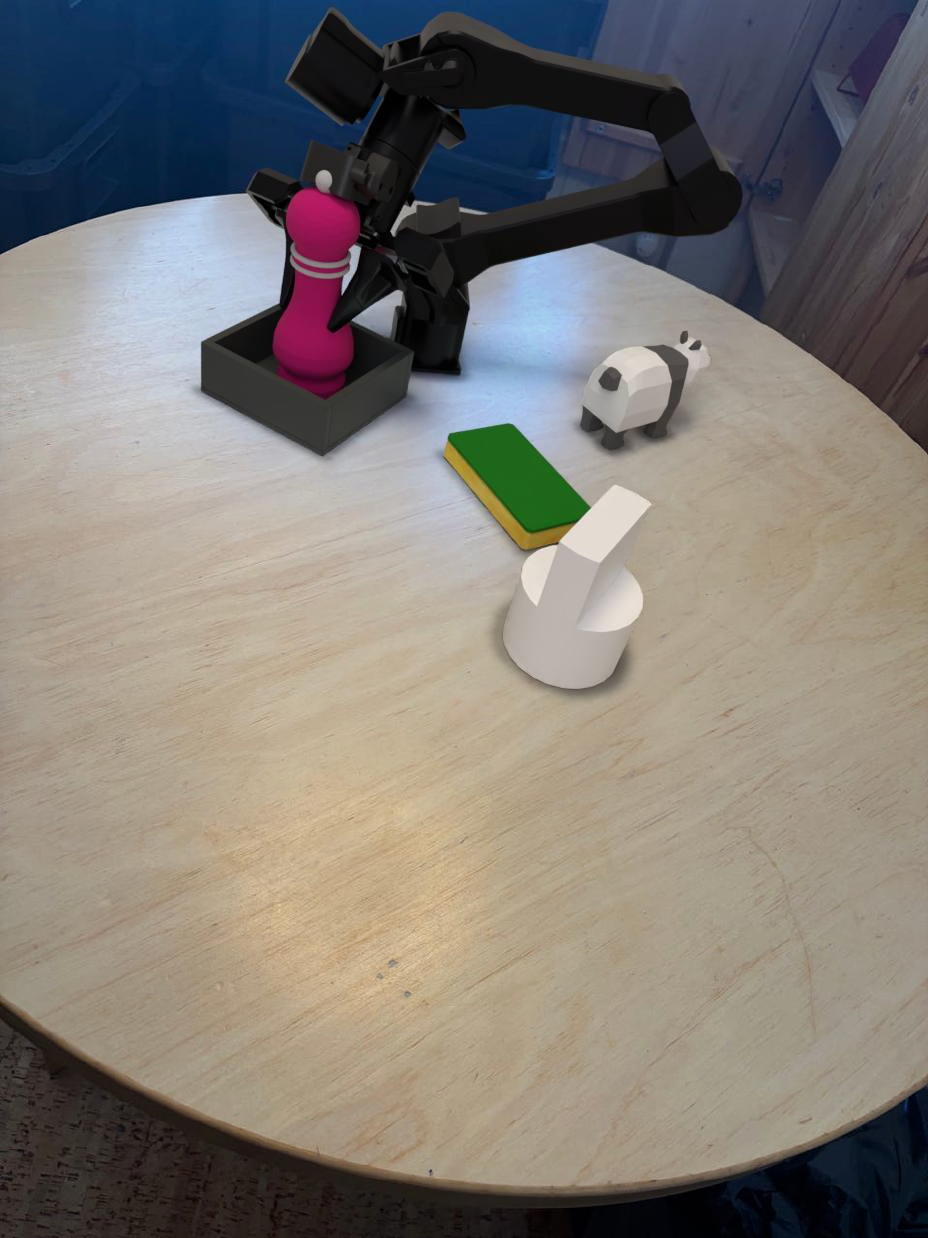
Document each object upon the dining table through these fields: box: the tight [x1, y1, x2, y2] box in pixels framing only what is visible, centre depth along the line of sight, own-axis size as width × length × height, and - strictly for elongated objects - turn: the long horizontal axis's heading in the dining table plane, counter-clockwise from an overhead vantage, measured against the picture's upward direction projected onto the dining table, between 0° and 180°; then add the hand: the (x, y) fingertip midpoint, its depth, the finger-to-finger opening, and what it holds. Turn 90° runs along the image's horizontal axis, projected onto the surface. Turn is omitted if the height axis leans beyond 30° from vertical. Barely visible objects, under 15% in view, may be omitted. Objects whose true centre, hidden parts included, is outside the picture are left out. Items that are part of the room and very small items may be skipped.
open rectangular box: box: [200, 303, 414, 457], centre depth 87 cm, size 14×14×5 cm
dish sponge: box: [443, 422, 592, 551], centre depth 83 cm, size 7×14×2 cm, turn 31°
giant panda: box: [579, 330, 713, 451], centre depth 93 cm, size 15×6×10 cm, turn 126°
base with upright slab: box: [502, 484, 652, 690], centre depth 68 cm, size 9×9×12 cm
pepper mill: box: [273, 170, 360, 400], centre depth 82 cm, size 7×7×20 cm
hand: (305, 319), depth 82 cm, fingers closed on pepper mill, 5 cm apart
